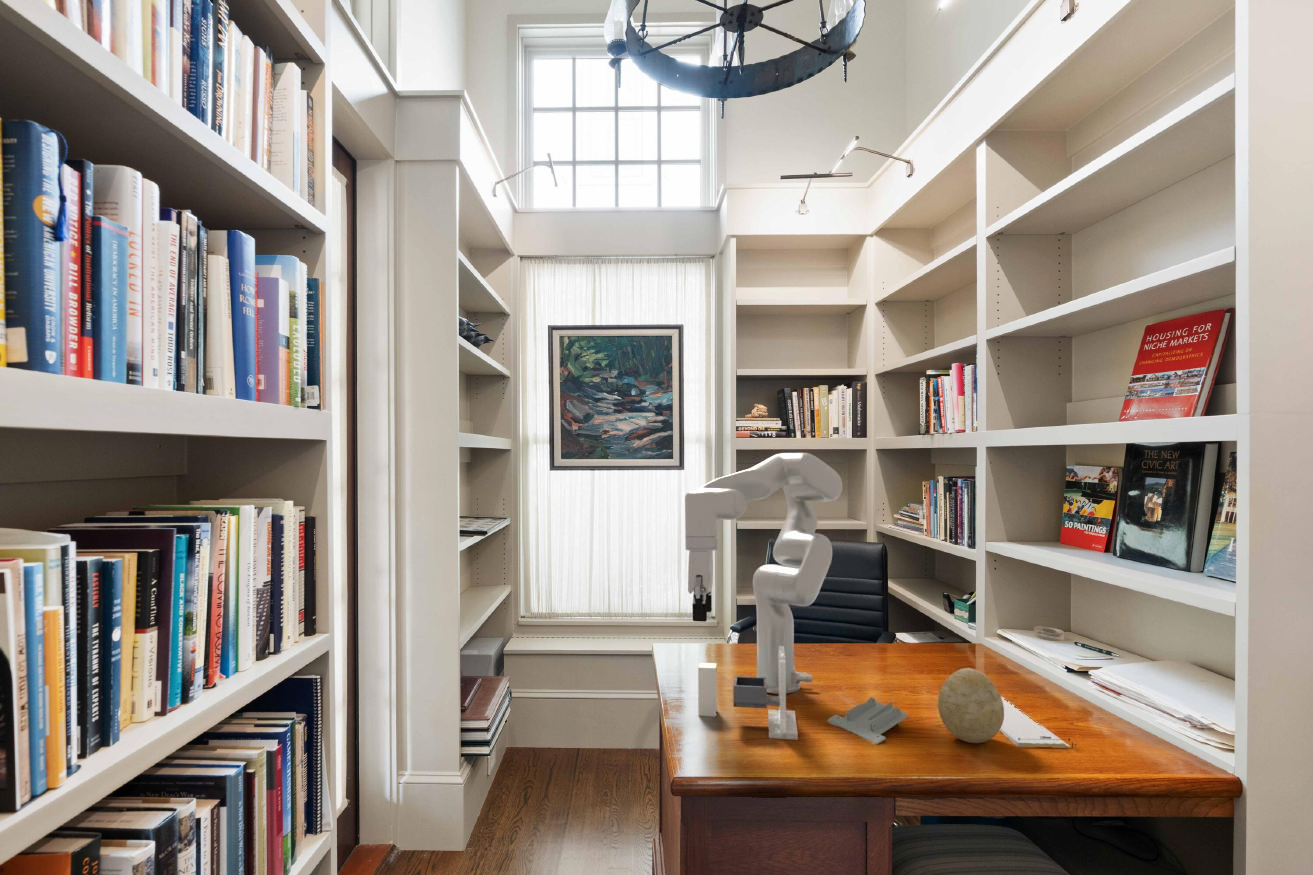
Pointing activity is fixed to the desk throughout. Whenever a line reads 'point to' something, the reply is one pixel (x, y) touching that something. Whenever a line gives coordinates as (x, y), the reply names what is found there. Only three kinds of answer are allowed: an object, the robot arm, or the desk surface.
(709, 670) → the cream rectangular beam
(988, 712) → the fossilized egg
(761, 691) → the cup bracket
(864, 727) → the metal bracket
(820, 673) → the desk surface
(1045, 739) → the baseboard
